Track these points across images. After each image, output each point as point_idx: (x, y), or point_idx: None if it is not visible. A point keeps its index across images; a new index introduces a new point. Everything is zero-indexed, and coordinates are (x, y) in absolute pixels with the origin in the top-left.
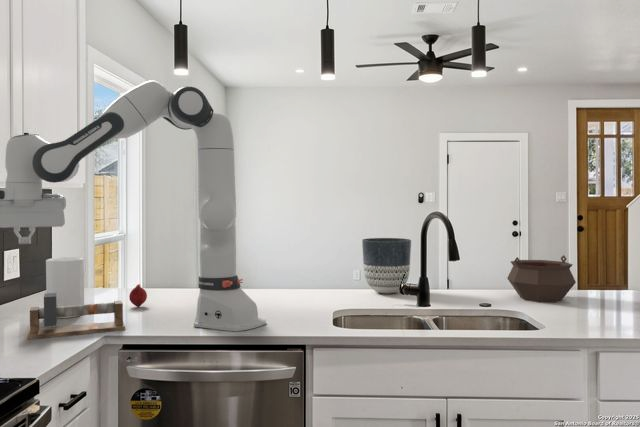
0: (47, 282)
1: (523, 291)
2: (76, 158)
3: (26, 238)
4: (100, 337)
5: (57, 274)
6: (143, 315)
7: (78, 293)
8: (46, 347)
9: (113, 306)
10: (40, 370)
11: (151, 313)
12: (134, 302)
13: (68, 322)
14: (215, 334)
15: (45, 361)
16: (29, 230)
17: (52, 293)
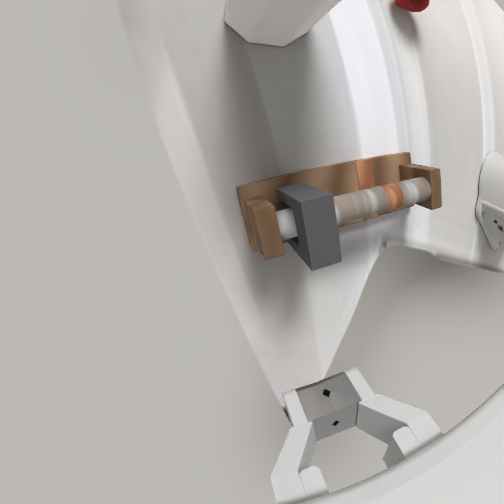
0: None
1: None
2: None
3: (345, 423)
4: (377, 252)
5: None
6: (424, 84)
7: (327, 11)
8: (302, 308)
9: (424, 200)
10: None
11: (432, 73)
12: (402, 7)
13: (297, 92)
14: (479, 257)
15: (313, 366)
16: (386, 459)
17: (323, 204)
